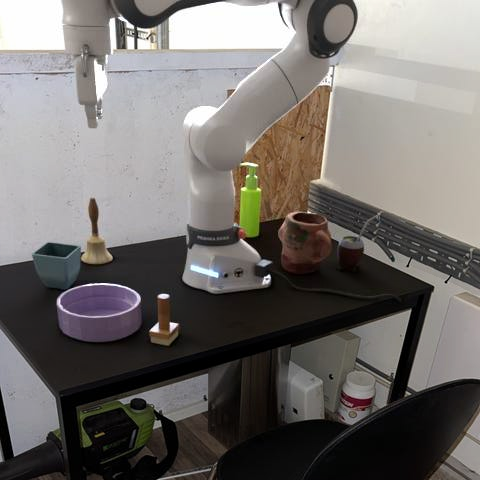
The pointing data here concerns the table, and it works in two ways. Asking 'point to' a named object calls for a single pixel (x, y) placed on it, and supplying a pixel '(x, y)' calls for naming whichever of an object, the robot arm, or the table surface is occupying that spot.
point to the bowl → (99, 312)
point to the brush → (164, 323)
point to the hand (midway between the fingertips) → (95, 123)
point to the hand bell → (95, 240)
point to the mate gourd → (351, 250)
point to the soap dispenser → (250, 203)
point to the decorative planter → (304, 242)
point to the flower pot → (57, 264)
